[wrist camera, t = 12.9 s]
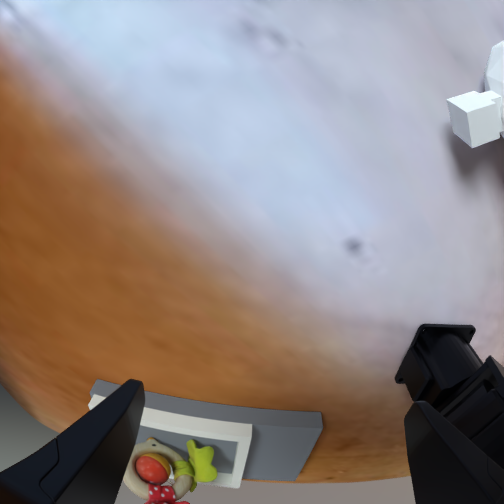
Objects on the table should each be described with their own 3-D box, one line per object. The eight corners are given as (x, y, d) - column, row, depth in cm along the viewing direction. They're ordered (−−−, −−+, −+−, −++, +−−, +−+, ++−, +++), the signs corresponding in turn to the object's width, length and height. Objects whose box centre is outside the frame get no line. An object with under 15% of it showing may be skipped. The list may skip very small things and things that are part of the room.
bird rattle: (155, 438, 30) (221, 480, 28) (93, 494, 21) (166, 548, 18) (160, 409, 28) (236, 457, 26) (86, 473, 19) (173, 538, 16)
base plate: (320, 411, 27) (324, 440, 24) (294, 467, 32) (295, 491, 29) (97, 378, 27) (83, 403, 24) (117, 441, 32) (109, 462, 28)
